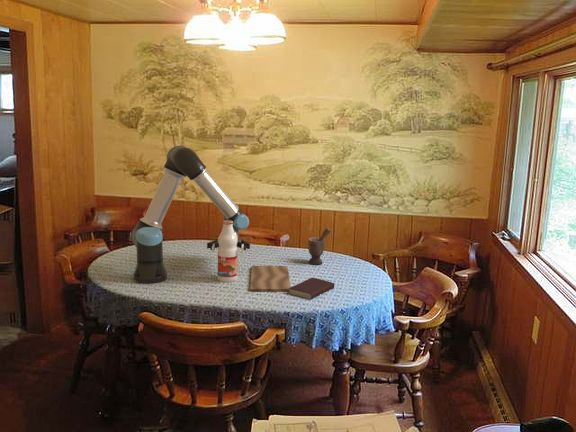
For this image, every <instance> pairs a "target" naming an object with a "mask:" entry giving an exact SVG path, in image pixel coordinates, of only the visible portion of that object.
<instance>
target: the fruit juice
mask: <svg viewBox="0 0 576 432" xmlns="http://www.w3.org/2000/svg"><path fill="white" fill-rule="evenodd" d="M217 239H218V243H219V247H218V248H217V280H218V281H219V282H223V283H231V282H232V283H233V282H236V281H237V280H238V278H239V277H238V276H239V275H238V273H239V269H238V268H239V267H238V266H239V263H238V262H239V249H238V247H237V242H238V241H239V238H238V239H237V236H236V235H235V233H234V230H233V221H231V220H225V221H224V220H223V221H222V229H221V232H220V234H219V236H218V238H217Z"/></svg>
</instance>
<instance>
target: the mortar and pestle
mask: <svg viewBox="0 0 576 432" xmlns="http://www.w3.org/2000/svg"><path fill="white" fill-rule="evenodd" d="M331 231H332V230H331V229H330V228H329V227H326V228H325V229H324V231H323V232H322V234H321V235H320V237H314V236H313V237H309V238H308V245H307V247H308V248H307V249H308V253H309V255H310V256H311V257H310V258H309V260H308V264H309V265H316V266H317V265H323V260H322V259H321V256H322V255H323V254H324V251H325V243H326V240H325V239H326V238H327V236H329V234H330V233H331Z"/></svg>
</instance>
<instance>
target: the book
mask: <svg viewBox="0 0 576 432" xmlns="http://www.w3.org/2000/svg"><path fill="white" fill-rule="evenodd" d="M334 289H335V283H334V282H331V281H329V280H328V281H327V280H324V279H321V278H316V277H310V278H308V279H306V280H303V281H301V282H300V283H297V284H295V285H292V286H291V287H290V288H289V292H288V293H290V294H289V295H293V294H294V295H293V296H297V295H298V296H297V297H301V296H302V297H301V298H305V297H306V299H309V298H310V300H313V299H315V298H317V297H320V296H321V295H323V294H325V293H327V292H329V291H331V290H334ZM320 294H321V295H320Z"/></svg>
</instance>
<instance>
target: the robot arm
mask: <svg viewBox="0 0 576 432" xmlns="http://www.w3.org/2000/svg"><path fill="white" fill-rule="evenodd" d="M163 171H164V173H163V175H162V177H161V179H160V181H159V184H158V187H157V188H156V191H155V193H154V195H153V198H152V200H151V202H150V204H149V205H148V208H147V211H146V213H145V215H144V217H141V218H139V220H138V222H137V224H136V226H134V228H133V229H132V231H131V235H130V237H131V241H132V244H133V245H134V246H135V248H136V267H135V269H134V273H133V280H136V281H138V282H137V283H139V282H144V283H143V284H157V283H161V282H164V281H165V279H166V280H167V279H168V272H167V269H166V266H165V264H164V260H163V259H164V257H163V256H164V255H163V254H164V253H163V252H164V251H163V250H164V249H163V248H164V247H163V239H164V237H163V226H162V224H163V220H164V218H165V217H166V214H167V212H168V209H169V207H170V206H171V203H172V200H173V199H174V197H175V194H176V192H177V189H178V188H179V186H180V183H181V181H182V180H184V179H186V178H188V179H189V180H190V181H193V182H194V183H195V184H196V185H197V186H198V187H199V189H201V190H202V191H203V193H204V194H205V195H206V196H207V197H208V198H209V200H211V202H212V203H213V204H214V205H215V206H216V207H217V209H218V210H219V211H220V213H222V214H223V221H225V220H231V221H233V230H234V233H235V235H236V236H237V239H238V242H237V248H239V249H241V254H244V251H246V250H250V249H251V243H249V242H247V241H245V240H244V239H243V238H242V239H240V240H239V236H240V231H242V230H245V229H247V228H248V227H249V225H250V219H249V218H248V217H249V216H247V214H244V213H243V212H242V210H241V209H240V207H239V205H238V204H236V203H235V202H234V201H233V199H231V198H230V196H229V195H228V194H227V193H226V192H225V190H223V188H222V187H221V186H220V185H219V183H217V181H216V180H215V179H214V177H213V176H212V175H211V174H210V173H209V172H208V170H207V165H205V163H204V162H203V161H202V160H201V158H200V156H198V154H197V153H196V151H194V150H193V149H192V148H189V147H186V146H184V145H175V146H173V147H171V148H170V149H169V150H168V152H167V154H166V161H165V163H164V166H163ZM239 230H240V231H239ZM206 248H207V249H210V251H211V253H212V254H214V252H215V249H218V248H219V243H218V238H216V239H213V240H211V241H209V242H207V243H206ZM136 281H135V282H136Z"/></svg>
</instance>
